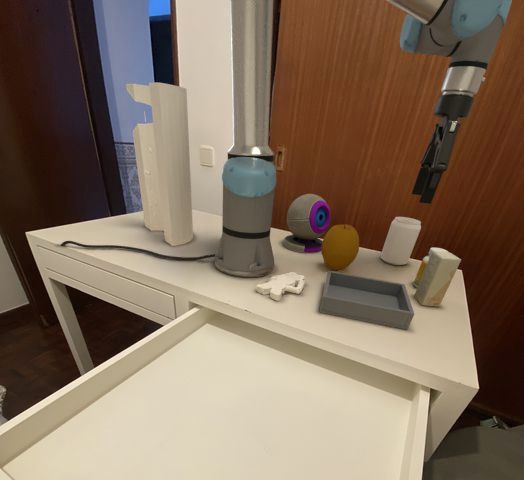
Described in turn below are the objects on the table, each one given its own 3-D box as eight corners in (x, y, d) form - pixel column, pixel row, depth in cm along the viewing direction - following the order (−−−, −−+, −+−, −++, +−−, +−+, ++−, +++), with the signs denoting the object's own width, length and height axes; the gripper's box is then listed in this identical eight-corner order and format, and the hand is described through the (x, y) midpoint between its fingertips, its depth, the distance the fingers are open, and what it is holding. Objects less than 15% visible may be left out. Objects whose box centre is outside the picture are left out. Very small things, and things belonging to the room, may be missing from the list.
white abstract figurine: (313, 285, 71) (314, 277, 70) (282, 306, 64) (283, 297, 63) (283, 273, 75) (284, 265, 74) (251, 291, 68) (251, 283, 67)
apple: (325, 259, 88) (335, 216, 81) (357, 268, 85) (370, 224, 78) (311, 268, 81) (320, 222, 74) (345, 278, 78) (358, 231, 71)
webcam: (303, 255, 89) (312, 200, 80) (274, 242, 97) (280, 190, 88) (331, 249, 96) (343, 197, 87) (303, 237, 104) (311, 189, 95)
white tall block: (169, 246, 85) (142, 226, 98) (205, 241, 91) (175, 223, 104) (154, 81, 64) (122, 83, 77) (202, 89, 70) (165, 90, 83)
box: (439, 307, 69) (462, 260, 62) (420, 305, 69) (442, 258, 62) (430, 297, 73) (451, 251, 67) (412, 295, 73) (432, 249, 67)
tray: (319, 312, 62) (322, 296, 60) (324, 284, 74) (328, 270, 71) (407, 329, 60) (414, 313, 57) (399, 298, 71) (404, 284, 69)
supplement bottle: (425, 282, 81) (441, 246, 75) (439, 291, 77) (456, 254, 71) (408, 282, 80) (423, 246, 74) (421, 291, 75) (437, 253, 70)
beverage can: (402, 268, 88) (419, 225, 81) (375, 260, 91) (389, 218, 84) (410, 262, 93) (426, 221, 86) (384, 254, 97) (398, 214, 90)
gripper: (495, 90, 58) (445, 209, 70) (460, 101, 77) (426, 193, 90) (453, 87, 59) (412, 204, 72) (429, 99, 79) (400, 189, 91)
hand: (420, 198), depth 81 cm, fingers open, 13 cm apart
